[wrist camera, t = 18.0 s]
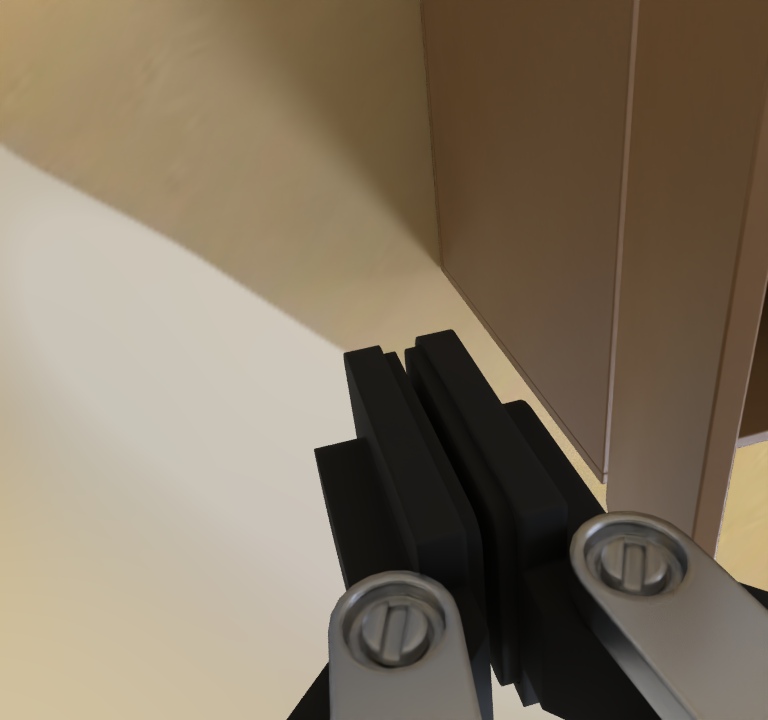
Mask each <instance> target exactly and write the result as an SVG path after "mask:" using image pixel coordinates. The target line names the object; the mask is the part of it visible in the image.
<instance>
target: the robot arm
mask: <svg viewBox="0 0 768 720" xmlns="http://www.w3.org/2000/svg"><path fill="white" fill-rule="evenodd" d="M344 364H345V370H346V376H347V382H348V388H349V394H350V399H351V406H352V412H353V417H354V423H355V429H356V435H357V439H354V440H349V441H346V442H341V443H337V444H333V445H328V446H324V447H320V448H316V449H314V452H315V457H316V462H317V467H318V472H319V476H320V481H321V486H322V490H323V495H324V499H325V504H326V508H327V513H328V517H329V522H330V526H331V530H332V535H333V538H334V543H335V547H336V551H337V555H338V559H339V563H340V567H341V571H342V576H343V580H344V583H345V588H346V592H345V593H344V595H343V596H341V597H340V598H339V600H338V602H337V604H336V606H335V608H334V610H333V611H332V613H331V617H330V623H329V630H328V643H329V662H328V663H327V664H326V666H325V667H324V669H323V670H322V671H321V673H320V674H319V676H318V677H317V678H316V680H315V681H314V683H313V684H312V685H311V687H310V688H309V689H308V691H307V692H306V693H305V695H304V696H303V698H302V699H301V700H300V702H299V703H298V705H297V706H296V707H295V709H294V710H293V712H292V713H291V714H290V716H289V717H288V718H287V720H493V702H492V684H491V666H492V668H493V671H494V673H495V675H496V678H497V680H498V682H499V683H500V685H501V686H505V685H508V684H512V683H514V685H515V688H516V690H517V692H518V695H519V697H520V699H521V702H522V704H523V706H524V707H526V706H529V705H533V704H536V703H540V705H541V707H542V709H543V710H545V711H547V712H549V713H551V714H554V715H556V716H558V717H560V718H562V719H565V720H768V592H767V591H764V590H761V589H758V588H755V587H752V586H749V585H746V584H743V583H740V582H737V581H736V580H735V579H734V578H733V577H732V576H731V575H730V574H729V573H728V572H727V571H726V570H725V569H723V568H722V567H721V566H720V565H719V564H718V563H717V562H716V561H715V560H714V559H713V558H712V557H711V556H710V555H708V554H707V553H706V552H705V551H704V550H703V549H702V548H701V547H700V546H699V545H698V544H697V543H696V542H695V541H694V540H692V539H691V538H690V537H689V536H688V535H687V534H686V533H685V532H683V531H682V530H680V529H679V528H678V527H676V526H675V525H674V524H672V523H671V522H668V521H666V520H664V519H661V518H659V517H657V516H654V515H652V514H646V513H641V512H636V511H612V512H609V513H606V512H605V511H604V509H603V508H602V506H601V505H600V504H599V502H598V501H597V499H596V498H595V497H594V495H593V494H592V492H591V491H590V490H589V488H588V487H587V485H586V484H585V483H584V481H583V480H582V478H581V477H580V475H579V474H578V473H577V471H576V470H575V468H574V467H573V466H572V464H571V463H570V461H569V460H568V459H567V457H566V456H565V454H564V453H563V452H562V450H561V449H560V447H559V446H558V445H557V443H556V442H555V440H554V439H553V438H552V436H551V435H550V433H549V432H548V430H547V429H546V428H545V426H544V425H543V423H542V422H541V421H540V419H539V418H538V416H537V415H536V414H535V412H534V411H533V409H532V408H531V407H530V406H529V404H528V403H527V402H526V401H523V400H517V401H513V402H509V403H505V404H502V403H501V402H500V400H499V399H498V397H497V396H496V394H495V393H494V391H493V389H492V388H491V386H490V385H489V383H488V382H487V380H486V379H485V377H484V376H483V374H482V373H481V371H480V370H479V368H478V367H477V365H476V364H475V362H474V361H473V359H472V358H471V356H470V354H469V353H468V351H467V350H466V348H465V347H464V345H463V344H462V342H461V341H460V339H459V338H458V336H457V335H456V333H455V332H454V331H453V330H451V329H450V330H445V331H441V332H436V333H432V334H427V335H423V336H418V337H416V341H415V347H412V348H408V349H405V365H406V372H405V370H404V368H403V366H402V364H401V362H400V360H399V358H398V356H397V354H396V352H390V353H385V354H384V353H383V351H382V349H381V347H380V346H379V345H378V346H373V347H369V348H364V349H359V350H355V351H350V352H346V353H344ZM406 373H407V374H406ZM490 663H491V666H490Z"/></svg>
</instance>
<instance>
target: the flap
mask: <svg viewBox="0 0 768 720" xmlns="http://www.w3.org/2000/svg"><path fill="white" fill-rule="evenodd" d="M767 282H768V0H640V2H639V17H638V32H637V47H636V61H635V76H634V91H633V106H632V120H631V135H630V150H629V165H628V179H627V194H626V209H625V224H624V239H623V253H622V268H621V283H620V298H619V312H618V327H617V342H616V357H615V371H614V386H613V401H612V416H611V431H610V445H609V460H608V475H607V490H606V504H607V509H608V513H609V512H612V511H636V512H641V513H646V514H652V515H654V516H657V517H659V518H661V519H664V520H666V521H668V522H671V523H672V524H674V525H675V526H676V527H678V528H679V529H680V530H682V531H683V532H685V533H686V534H687V535H688V536H689V537H690V538H691V539H692V540H694V541H695V542H696V543H697V544H698V545H699V546H700V547H701V548H702V549H703V550H704V551H705V552H706V553H707V554H708V555H710V556H711V557H712V558H713V559H714V560H715V558H716V553H717V547H718V542H719V537H720V532H721V526H722V521H723V516H724V510H725V505H726V500H727V494H728V489H729V484H730V479H731V473H732V468H733V463H734V457H735V452H736V447H737V441H738V436H739V431H740V426H741V420H742V415H743V410H744V404H745V399H746V394H747V388H748V383H749V378H750V373H751V367H752V362H753V357H754V351H755V346H756V341H757V335H758V330H759V325H760V320H761V314H762V309H763V304H764V298H765V293H766V288H767Z"/></svg>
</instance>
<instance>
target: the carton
mask: <svg viewBox="0 0 768 720" xmlns="http://www.w3.org/2000/svg"><path fill="white" fill-rule="evenodd" d="M639 2H640V0H420V6H421V19H422V31H423V44H424V57H425V69H426V82H427V95H428V107H429V120H430V133H431V145H432V158H433V171H434V183H435V196H436V208H437V221H438V234H439V246H440V259H441V270H442V272H443V273H444V274H445V276H446V277H447V278H448V280H449V281H450V282H451V284H452V285H453V286H454V288H455V289H456V290H457V292H458V293H459V294H460V296H461V297H462V298H463V300H464V301H465V302H466V304H467V305H468V306H469V308H470V309H471V310H472V312H473V313H474V314H475V316H476V317H477V318H478V320H479V321H480V322H481V324H482V325H483V326H484V328H485V329H486V330H487V332H488V333H489V334H490V336H491V337H492V338H493V340H494V341H495V342H496V344H497V345H498V346H499V348H500V349H501V350H502V352H503V353H504V354H505V356H506V357H507V358H508V360H509V361H510V362H511V364H512V365H513V366H514V368H515V369H516V370H517V372H518V373H519V374H520V376H521V377H522V378H523V380H524V381H525V382H526V384H527V385H528V386H529V388H530V389H531V390H532V392H533V393H534V394H535V396H536V397H537V398H538V400H539V401H540V402H541V404H542V405H543V406H544V408H545V409H546V410H547V412H548V413H549V414H550V416H551V417H552V418H553V420H554V421H555V422H556V424H557V425H558V426H559V428H560V429H561V430H562V432H563V433H564V434H565V436H566V437H567V438H568V440H569V441H570V442H571V444H572V445H573V446H574V448H575V449H576V450H577V452H578V453H579V454H580V456H581V457H582V458H583V460H584V461H585V462H586V464H587V465H588V466H589V468H590V469H591V470H592V472H593V473H594V474H595V476H596V477H597V478H598V480H599V481H600V482H601V484H606V483H607V475H608V460H609V445H610V431H611V416H612V401H613V386H614V371H615V357H616V342H617V327H618V312H619V298H620V283H621V268H622V253H623V239H624V224H625V209H626V194H627V179H628V165H629V150H630V135H631V120H632V106H633V91H634V76H635V61H636V47H637V32H638V17H639ZM767 440H768V282H767V288H766V293H765V298H764V304H763V309H762V314H761V320H760V325H759V330H758V335H757V341H756V346H755V351H754V357H753V362H752V367H751V373H750V378H749V383H748V388H747V394H746V399H745V404H744V410H743V415H742V420H741V426H740V431H739V436H738V441H737V447H736V449H737V448H741V447H744V446H748V445H752V444H756V443H759V442H763V441H767Z"/></svg>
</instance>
